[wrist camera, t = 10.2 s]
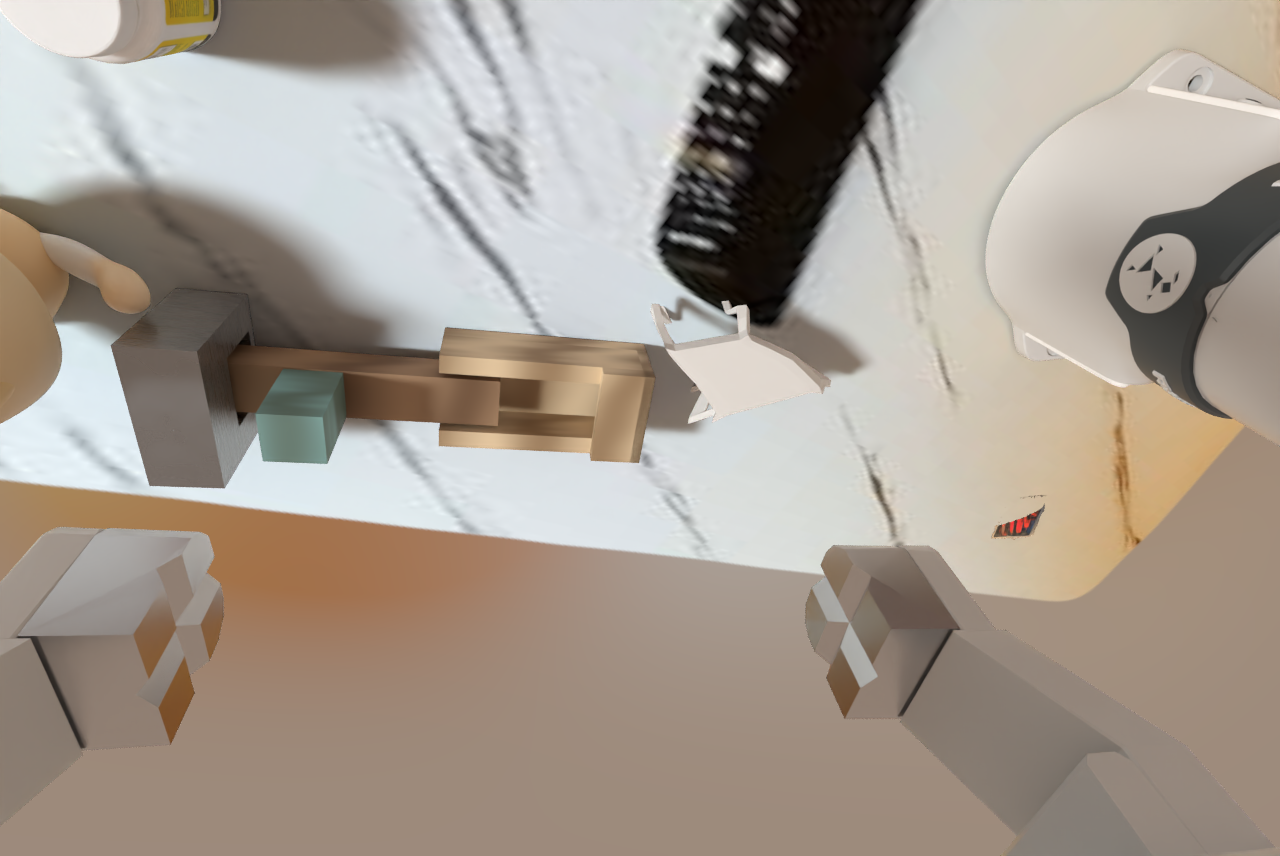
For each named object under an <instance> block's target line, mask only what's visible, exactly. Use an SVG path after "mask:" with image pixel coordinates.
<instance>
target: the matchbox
mask: <svg viewBox="0 0 1280 856" xmlns="http://www.w3.org/2000/svg"><path fill="white" fill-rule="evenodd" d="M1037 496H1038V495H1037ZM1029 497H1031V496H1029ZM1041 497H1042V495H1041ZM1021 498H1022V497H1021ZM1031 498H1032V497H1031ZM1034 498H1035V496H1034ZM1044 508H1045V504H1044V506H1043V507H1042V508H1041V509H1040V510H1039V511H1037V512H1034V513H1033V514H1030V515H1027V517H1023V518H1021V519H1019V520H1015V521H1013V522H1008V523H1006V524H1003V525H999V526H998V525H996V526H995V527H996V528H995V531H994V533H993V534H992V538H995V539H996V538H1004V539H1005V538H1013V540H1015V538H1019V537H1028V536H1031V535H1033V533H1034V529H1035V527H1036V526H1037V523H1038V521H1039V518H1040V516H1041V514H1042V512H1043V511H1044ZM999 523H1000V522H999ZM997 526H998V527H997Z"/></svg>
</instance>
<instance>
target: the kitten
mask: <svg viewBox="0 0 1280 856" xmlns="http://www.w3.org/2000/svg"><path fill="white" fill-rule="evenodd" d="M69 273H70V274H71V275H73V276H75V277H77V278H79V279H81V280H84V281H86V282H88V283H90V284H92V285H95V286H96V287H98V288H99V289H100V291H101V295H102V297H103V299H104V301H105V303H106V304H107V305H108V306H109V307H111V308H112V309H114V310H116V311H118V312H122V313H127V314H135V313H140V312H142V311H144V310H146V309H147V308H148V307H149V305H150V302H151V295H150V291H149V289H148V287H147V285H146V283H145V282H144V281H143V279H142V278H141V277H140V276H139V275H138V274H137V273H136V272H135V271H133V270H132V269H130V268H128V267H126V266H124V265H121V264H118V263H115V262H113V261H111V260H110V259H108V258H106V257H105V256H103V255H101V254H100V253H98V252H96V251H95V250H93V249H91V248H90V247H88V246H86V245H84V244H82V243H80V242H77V241H75V240H72V239H69V238H66V237H62V236H59V235H54V234H49V233H42V232H39V231H38V230H36V229H35V228H34V227H32V226H31V225H30V224H28V223H27V222H25V221H24V220H22V219H20V218H19V217H17V216H15V215H13V214H11V213H9V212H7V211H5V210H3V209H0V424H1V423H3V422H4V421H6V420H8V419H10V418H12V417H13V416H15V415H17V414H19V413H20V412H22V411H23V410H25V409H26V408H28V407H29V406H31V405H32V404H33V403H35V402H36V401H37V400H38V399H40V398H41V397H42V396H43V395H44V394H45V393H46V392H47V391H48V389H49V388H50V387H51V386H52V384H53V383H54V381H55V379H56V378H57V376H58V373H59V370H60V367H61V362H62V348H61V342H60V338H59V334H58V331H57V329H56V326H55V324H54V322H53V317H54V316H55V315H56V313H57V311H58V310H59V308H60V306H61V304H62V302H63V300H64V298H65V296H66V294H67V291H68V287H69Z"/></svg>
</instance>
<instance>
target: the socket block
mask: <svg viewBox="0 0 1280 856" xmlns="http://www.w3.org/2000/svg"><path fill="white" fill-rule="evenodd" d="M237 345H251V346H255V341H254V334H253V328H252V321H251V315H250V308H249V302H248V295H247V294H237V293H225V292H214V291H202V290H191V289H180V288H176V289H175V290H173V291H172V292H171V293H170V294H169V295H168V296H167V297H165V298H164V299H163V300H162V301H161V302H160V303H159V304H157V305H156V306H155V307H154V308H153V309H152V310H151V311H149V312H148V313H147V314H146V315H145V316H144V317H143V318H142V319H140V320H139V321H138V322H137V323H136V324H135V325H134V326H132V327H131V328H130V329H129V330H128V331H127V332H126V333H124V334H123V335H122V336H121V337H120V338H119V339H118V340H116V341H115V342H114V343H113V344H112V345H111V348H112V352H113V355H114V359H115V363H116V366H117V370H118V373H119V377H120V381H121V384H122V388H123V391H124V395H125V399H126V402H127V406H128V410H129V413H130V417H131V420H132V424H133V428H134V431H135V435H136V438H137V442H138V446H139V449H140V453H141V457H142V460H143V464H144V467H145V471H146V475H147V478H148V482H149V485H150V486H171V487H201V488H225V487H226V485H227V484H228V482H229V480H230V479H231V477H232V475H233V473H234V472H235V470H236V468H237V467H238V465H239V463H240V462H241V460H242V458H243V456H244V455H245V453H246V451H247V450H248V448H249V446H250V445H251V443H252V441H253V439H254V438H255V436H256V434H257V433H258V427H257V421H256V415H255V413H251V412H236V407H235V402H234V396H233V391H232V385H231V380H230V374H229V368H228V363H227V358H228V356H229V355H230V354H231V353H232V351H233V350H234V349H235V347H236V346H237Z"/></svg>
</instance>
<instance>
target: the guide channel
mask: <svg viewBox="0 0 1280 856" xmlns="http://www.w3.org/2000/svg"><path fill="white" fill-rule="evenodd" d="M439 373H446V374H461V375H475V376H489V377H501V380H500V398H499V415H498V426H489V425H470V424H452V423H440V428H439V446H450V447H471V448H492V449H513V450H534V451H555V452H576V453H590V458H591V461H609V462H631V463H639V460H640V455H641V450H642V445H643V439H644V434H645V429H646V424H647V419H648V414H649V409H650V403H651V398H652V393H653V388H654V383H655V375H654V372H653V369H652V366H651V363H650V360H649V358H648V355H647V352H646V349H645V346H644V344H637V343H625V342H613V341H601V340H589V339H576V338H564V337H552V336H540V335H528V334H516V333H504V332H492V331H480V330H468V329H456V328H445V332H444V336H443V341H442V345H441V350H440V354H439Z"/></svg>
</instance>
